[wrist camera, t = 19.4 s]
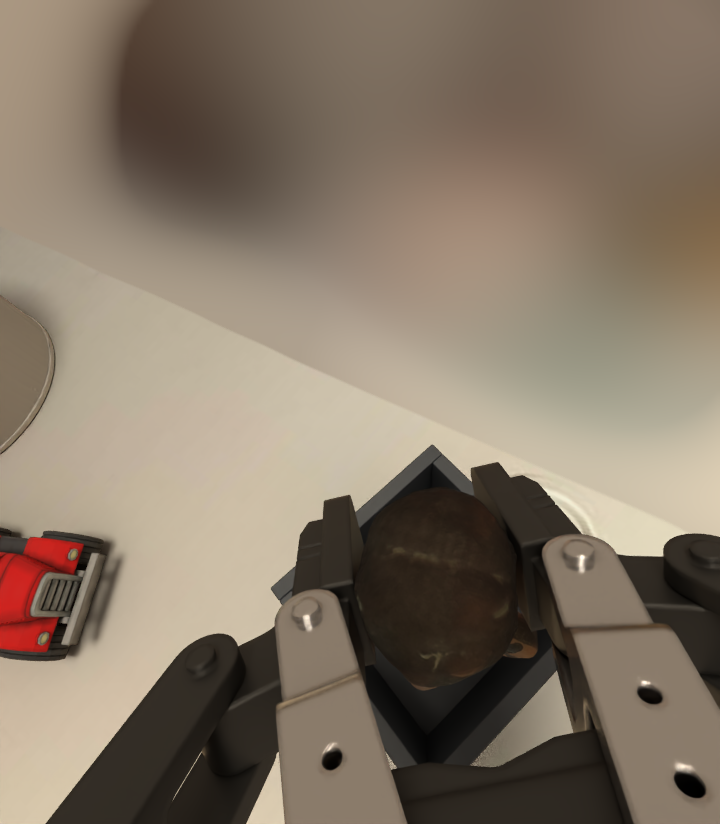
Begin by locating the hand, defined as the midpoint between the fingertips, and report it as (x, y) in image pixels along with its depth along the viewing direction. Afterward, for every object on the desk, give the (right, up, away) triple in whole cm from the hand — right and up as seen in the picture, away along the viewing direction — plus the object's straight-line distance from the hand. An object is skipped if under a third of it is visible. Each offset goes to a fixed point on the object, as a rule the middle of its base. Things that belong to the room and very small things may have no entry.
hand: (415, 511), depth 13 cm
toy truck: (-28, -11, +22) cm, 38 cm away
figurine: (+2, -8, +12) cm, 14 cm away
